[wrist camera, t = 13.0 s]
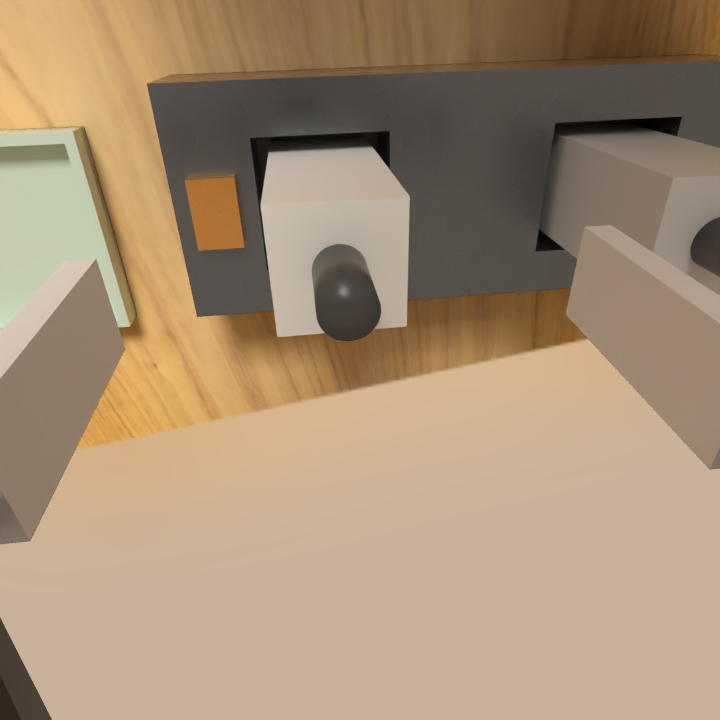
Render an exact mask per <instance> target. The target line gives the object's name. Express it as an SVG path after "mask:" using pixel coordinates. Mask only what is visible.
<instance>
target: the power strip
mask: <svg viewBox="0 0 720 720" xmlns="http://www.w3.org/2000/svg"><path fill="white" fill-rule="evenodd" d="M147 86H148V91H149V96H150V100H151V105H152V109H153V114H154V119H155V123H156V128H157V133H158V137H159V142H160V147H161V151H162V156H163V160H164V165H165V170H166V174H167V179H168V184H169V188H170V193H171V198H172V202H173V207H174V211H175V216H176V221H177V225H178V230H179V235H180V239H181V244H182V249H183V253H184V258H185V262H186V267H187V272H188V276H189V281H190V286H191V290H192V295H193V300H194V304H195V309H196V313H197V317H202V316H214V315H227V314H240V313H253V312H266V311H274V307H273V299H272V291H271V284H270V276H269V268H268V260H267V252H266V245H265V237H264V229H263V221H262V213H261V199H262V192H263V186H264V179H265V172H266V166H267V159H268V153H269V146H270V141H281V140H301V139H321V138H341V137H361V136H365V138H366V139H367V140H368V142H369V143H370V144H371V146H372V147H373V148H374V150H375V151H376V152H377V154H378V155H379V156H380V157H381V159H382V160H383V161H384V163H385V164H386V165H387V167H388V168H389V169H390V171H391V172H392V173H393V175H394V176H395V177H396V179H397V180H398V181H399V183H400V184H401V185H402V187H403V188H404V189H405V191H406V192H407V193H408V195H409V196H410V206H409V250H408V295H407V301H409V300H421V299H434V298H447V297H460V296H473V295H486V294H499V293H512V292H525V291H538V290H551V289H564V288H571V287H572V282H573V278H574V273H575V268H576V264H577V258H575V257H574V256H573V255H571V254H570V253H569V252H568V251H566V250H565V249H564V248H562V247H561V246H560V245H559V244H557V243H556V242H555V241H553V240H552V239H551V238H550V237H548V236H547V235H546V234H544V233H543V232H542V231H541V230H539V225H540V218H541V212H542V205H543V199H544V193H545V186H546V180H547V173H548V167H549V161H550V154H551V148H552V141H553V135H554V129H555V125H570V124H590V123H610V122H624V123H628V124H632V125H635V126H639V127H643V128H647V129H650V130H654V131H658V132H662V133H665V134H669V135H673V136H677V137H681V138H684V139H688V140H692V141H696V142H699V143H703V144H707V145H711V146H714V147H718V148H720V55H702V54H695V55H669V56H644V57H618V58H592V59H566V60H540V61H514V62H489V63H463V64H437V65H411V66H385V67H360V68H334V69H308V70H282V71H256V72H231V73H205V74H179V75H169V76H167V77H164V78H161V79H158V80H156V81H153V82H150V83H147Z"/></svg>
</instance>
